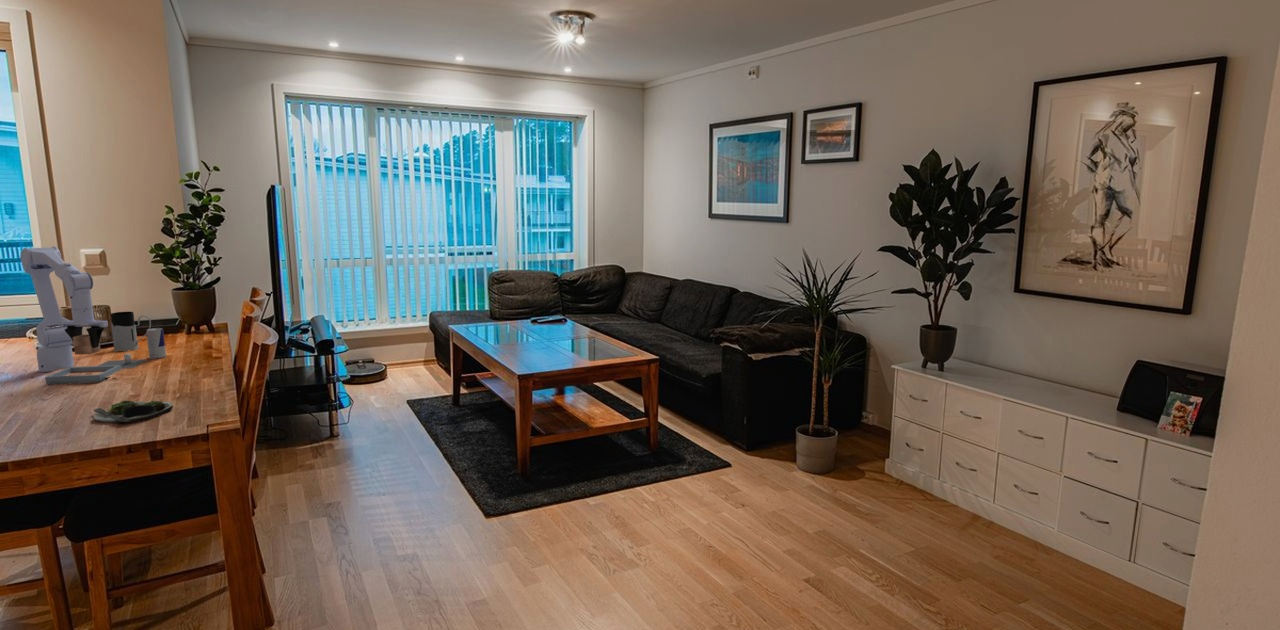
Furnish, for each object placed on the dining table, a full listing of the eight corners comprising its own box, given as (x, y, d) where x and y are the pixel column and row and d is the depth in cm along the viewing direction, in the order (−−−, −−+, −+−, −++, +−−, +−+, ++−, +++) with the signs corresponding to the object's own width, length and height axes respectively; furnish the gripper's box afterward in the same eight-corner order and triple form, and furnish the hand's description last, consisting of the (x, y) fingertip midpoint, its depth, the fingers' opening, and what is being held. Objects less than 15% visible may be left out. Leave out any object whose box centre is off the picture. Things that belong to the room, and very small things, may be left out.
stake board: (88, 372, 245) (86, 360, 244) (109, 363, 259) (108, 351, 258) (132, 370, 248) (131, 358, 247) (151, 361, 261) (150, 350, 261)
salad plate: (70, 424, 193) (67, 408, 192) (124, 405, 210) (122, 390, 209) (133, 427, 190) (131, 411, 190) (182, 408, 208) (180, 393, 207)
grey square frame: (46, 384, 230) (45, 377, 229) (70, 373, 243) (69, 367, 243) (100, 382, 233) (99, 375, 233) (122, 371, 246) (121, 365, 246)
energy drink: (169, 358, 267) (166, 328, 265) (159, 361, 262) (155, 330, 260) (157, 357, 267) (153, 327, 265) (146, 361, 262) (142, 330, 260)
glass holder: (119, 347, 285) (114, 311, 282) (158, 345, 288) (154, 310, 285) (108, 352, 276) (104, 315, 274) (149, 350, 280) (144, 314, 277)
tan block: (74, 354, 236) (72, 337, 235) (89, 350, 243) (87, 333, 241) (89, 354, 236) (87, 337, 235) (103, 350, 243) (101, 333, 242)
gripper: (112, 306, 240) (116, 344, 242) (69, 306, 240) (74, 344, 242) (97, 310, 233) (102, 349, 236) (53, 310, 233) (58, 349, 235)
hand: (87, 347), depth 238 cm, fingers closed on tan block, 5 cm apart
